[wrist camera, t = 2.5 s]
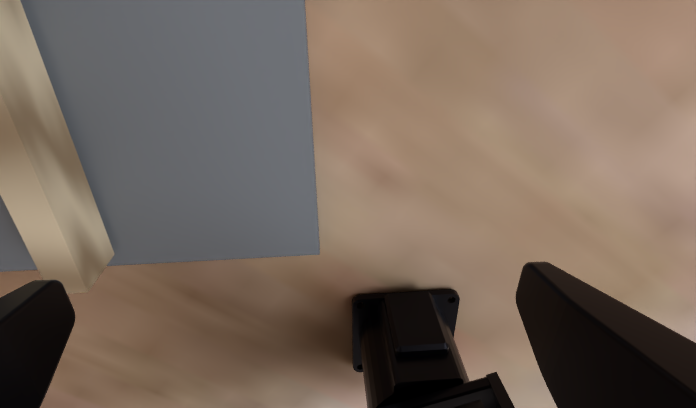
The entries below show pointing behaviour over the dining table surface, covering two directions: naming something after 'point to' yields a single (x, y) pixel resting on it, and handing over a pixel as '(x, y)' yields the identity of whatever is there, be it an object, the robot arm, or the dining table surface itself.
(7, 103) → the dial lever
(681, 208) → the dining table surface
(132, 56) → the grey board
